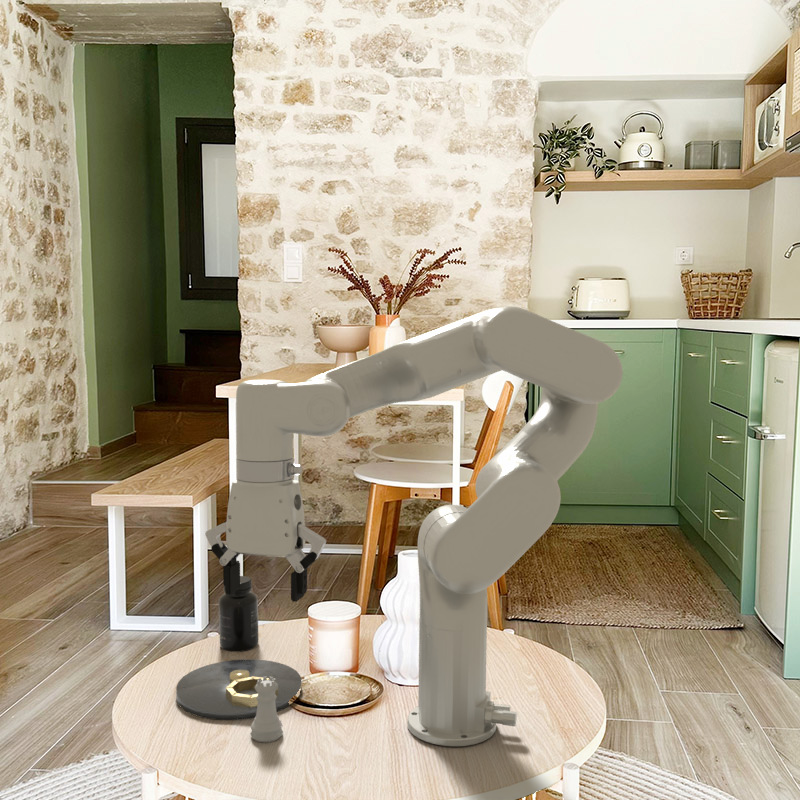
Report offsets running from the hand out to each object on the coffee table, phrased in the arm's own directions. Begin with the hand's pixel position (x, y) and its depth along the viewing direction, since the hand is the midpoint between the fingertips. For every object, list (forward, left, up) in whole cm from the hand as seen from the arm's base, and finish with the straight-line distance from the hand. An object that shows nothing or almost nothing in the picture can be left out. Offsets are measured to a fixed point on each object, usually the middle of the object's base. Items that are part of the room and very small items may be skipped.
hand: (265, 595), depth 118 cm
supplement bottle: (+19, -30, -20) cm, 41 cm away
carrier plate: (+10, -12, -20) cm, 25 cm away
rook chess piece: (0, 0, -20) cm, 20 cm away
